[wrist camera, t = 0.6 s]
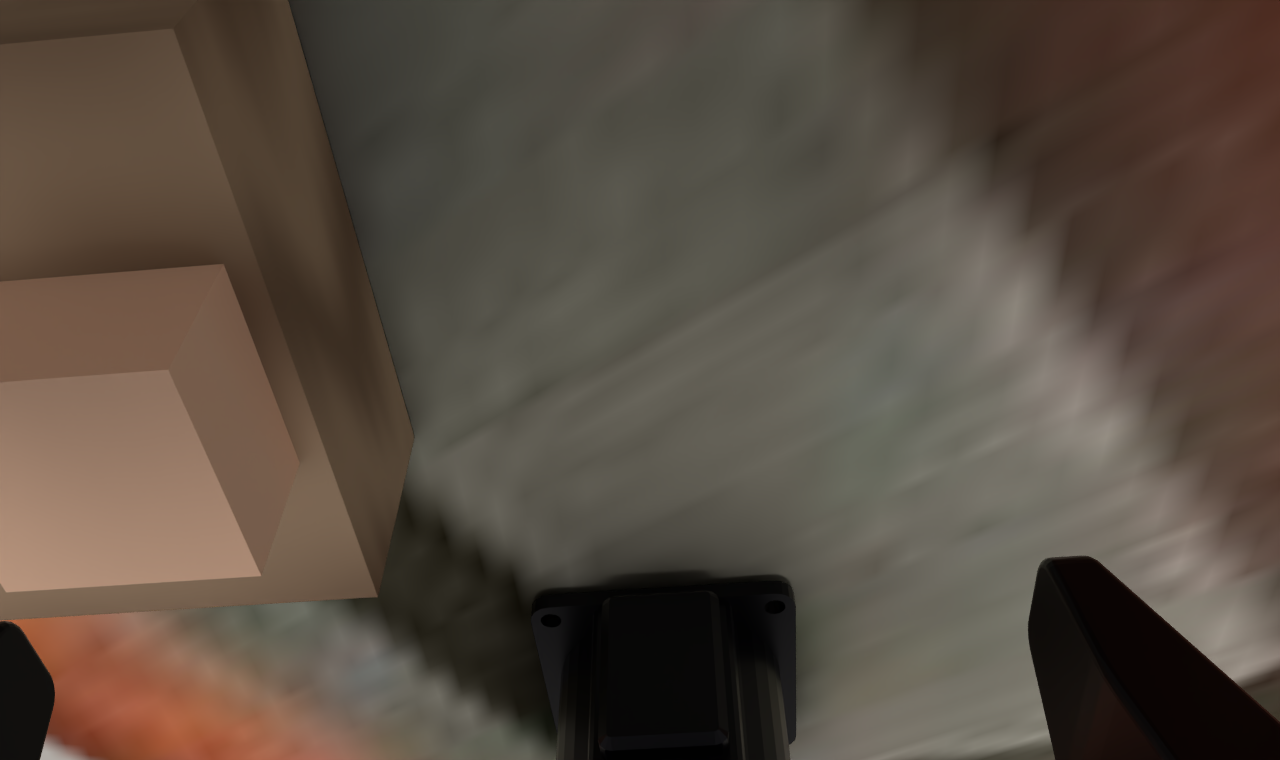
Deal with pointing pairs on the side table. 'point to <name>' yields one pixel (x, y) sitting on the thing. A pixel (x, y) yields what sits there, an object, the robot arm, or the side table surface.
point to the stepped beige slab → (211, 251)
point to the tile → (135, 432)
